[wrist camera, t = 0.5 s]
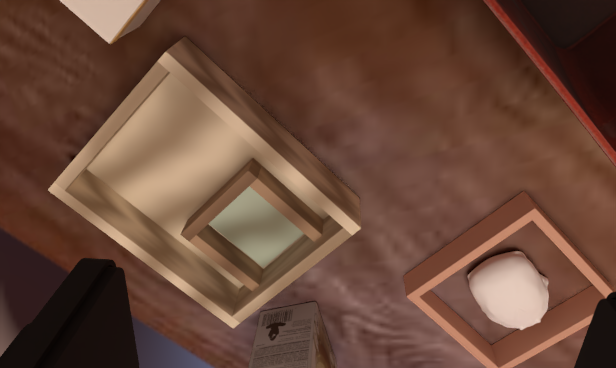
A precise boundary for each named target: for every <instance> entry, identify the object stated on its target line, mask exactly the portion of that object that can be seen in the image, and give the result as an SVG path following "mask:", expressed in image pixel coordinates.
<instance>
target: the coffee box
mask: <svg viewBox="0 0 616 368" xmlns="http://www.w3.org/2000/svg"><path fill="white" fill-rule="evenodd" d="M248 368H337V362H336V359H335V356H334V353H333V350H332V347H331V344H330V341H329V338H328V335H327V332H326V329H325V326H324V323H323V320H322V317H321V314H320V311H319V308H318V305H317V303H316V302H309V303H304V304H299V305H293V306H288V307H283V308H277V309H272V310H267V311H262V312H260V317H259V321H258V326H257V330H256V335H255V339H254V344H253V349H252V353H251V357H250V362H249V367H248Z"/></svg>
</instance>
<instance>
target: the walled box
mask: <svg viewBox="0 0 616 368" xmlns="http://www.w3.org/2000/svg"><path fill="white" fill-rule="evenodd" d="M48 191H50V192H51V193H52V194H54V195H55V196H56V197H58V198H59V199H60V200H62V201H63V202H64V203H66V204H67V205H68V206H70V207H71V208H72V209H74V210H75V211H76V212H78V213H79V214H80V215H82V216H83V217H84V218H86V219H87V220H88V221H90V222H91V223H92V224H94V225H95V226H96V227H98V228H99V229H100V230H102V231H103V232H104V233H106V234H107V235H108V236H110V237H111V238H112V239H114V240H115V241H116V242H118V243H119V244H120V245H122V246H123V247H125V248H126V249H127V250H129V251H130V252H131V253H133V254H134V255H135V256H137V257H138V258H139V259H141V260H142V261H143V262H145V263H146V264H147V265H149V266H150V267H151V268H153V269H154V270H155V271H157V272H158V273H159V274H161V275H162V276H163V277H165V278H166V279H167V280H169V281H170V282H171V283H173V284H174V285H175V286H177V287H178V288H179V289H181V290H182V291H183V292H185V293H186V294H187V295H189V296H190V297H191V298H193V299H194V300H195V301H197V302H198V303H199V304H201V305H202V306H203V307H205V308H206V309H207V310H209V311H210V312H211V313H213V314H214V315H215V316H217V317H218V318H220V319H221V320H222V321H224V322H225V323H226V324H228V325H229V326H230V327H232V328H234V327H236V326H237V325H238V324H240V323H241V322H242V321H243V320H245V319H246V318H247V317H248V316H250V315H251V314H252V313H254V312H255V311H256V310H257V309H259V308H260V307H261V306H263V305H264V304H265V303H266V302H268V301H269V300H270V299H271V298H273V297H274V296H275V295H277V294H278V293H279V292H280V291H282V290H283V289H284V288H286V287H287V286H288V285H289V284H291V283H292V282H293V281H294V280H296V279H297V278H298V277H300V276H301V275H302V274H303V273H305V272H306V271H307V270H308V269H310V268H311V267H312V266H314V265H315V264H316V263H317V262H319V261H320V260H321V259H323V258H324V257H325V256H326V255H328V254H329V253H330V252H331V251H333V250H334V249H335V248H337V247H338V246H339V245H340V244H342V243H343V242H344V241H346V240H347V239H348V238H349V237H351V236H352V235H353V234H354V233H356V232H357V231H358V230H360V229H361V216H360V198H359V197H358V196H357V195H356V194H355V193H354V192H353V191H351V190H350V189H349V188H348V187H347V186H346V185H345V184H344V183H343V182H342V181H341V180H340V179H339V178H338V177H336V176H335V175H334V174H333V173H332V172H331V171H330V170H329V169H328V168H327V167H326V166H325V165H324V164H322V163H321V162H320V161H319V160H318V159H317V158H316V157H315V156H314V155H313V154H312V153H311V152H310V151H308V150H307V149H306V148H305V147H304V146H303V145H302V144H301V143H300V142H299V141H298V140H297V139H296V138H294V137H293V136H292V135H291V134H290V133H289V132H288V131H287V130H286V129H285V128H284V127H283V126H282V125H280V124H279V123H278V122H277V121H276V120H275V119H274V118H273V117H272V116H271V115H270V114H269V113H268V112H266V111H265V110H264V109H263V108H262V107H261V106H260V105H259V104H258V103H257V102H256V101H255V100H254V99H253V98H251V97H250V96H249V95H248V94H247V93H246V92H245V91H244V90H243V89H242V88H241V87H240V86H239V85H237V84H236V83H235V82H234V81H233V80H232V79H231V78H230V77H229V76H228V75H227V74H226V73H225V72H223V71H222V70H221V69H220V68H219V67H218V66H217V65H216V64H215V63H214V62H213V61H212V60H211V59H209V58H208V57H207V56H206V55H205V54H204V53H203V52H202V51H201V50H200V49H199V48H198V47H197V46H195V45H194V44H193V43H192V42H191V41H190V40H189V39H188V38H187V37H186V36H185V37H183V38H182V39H181V40H180V41H178V42H177V43H176V44H174V45H173V46H172V47H171V48H169V49H168V50H167V51H166V52H165V53H164V54H163V55H162V56H161V58H160V59H159V60H158V61H157V62H156V63H155V65H154V66H153V67H152V68H151V69H150V71H149V72H148V73H147V74H146V75H145V76H144V78H143V79H142V80H141V81H140V82H139V83H138V85H137V86H136V87H135V88H134V89H133V90H132V92H131V93H130V94H129V95H128V96H127V98H126V99H125V100H124V101H123V102H122V103H121V105H120V106H119V107H118V108H117V109H116V110H115V112H114V113H113V114H112V115H111V116H110V118H109V119H108V120H107V121H106V122H105V123H104V125H103V126H102V127H101V128H100V129H99V130H98V132H97V133H96V134H95V135H94V136H93V137H92V139H91V140H90V141H89V142H88V143H87V145H86V146H85V147H84V148H83V149H82V150H81V152H80V153H79V154H78V155H77V156H76V157H75V159H74V160H73V161H72V162H71V163H70V164H69V166H68V167H67V168H66V169H65V170H64V172H63V173H62V174H61V175H60V176H59V177H58V179H57V180H56V181H55V182H54V183H53V184H52V186H51V187H50V188H49V189H48Z"/></svg>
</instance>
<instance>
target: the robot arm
mask: <svg viewBox="0 0 616 368" xmlns="http://www.w3.org/2000/svg"><path fill="white" fill-rule="evenodd" d="M0 368H139V362H138V355H137V349H136V343H135V336H134V330H133V324H132V318H131V311H130V305H129V299H128V293H127V286H126V280H125V274H124V270H123V269H122V268H119V267H116V264H115V262H114V261H113V260H108V259H92V258H83V259H81V260H80V261H79V262H78V263H77V265H76V266H75V267H74V269H73V270H72V271H71V272H70V274H69V275H68V276H67V278H66V279H65V280H64V281H63V283H62V284H61V285H60V287H59V288H58V289H57V290H56V292H55V293H54V295H53V296H52V297H51V298H50V300H49V301H48V302H47V303H46V305H45V306H44V307H43V309H42V310H41V311H40V312H39V314H38V315H37V316H36V318H35V319H34V320H33V322H32V323H30V324H27V325H26V326H25V327H24V328H23V330H21V331H20V333H19V334H18V335H17V337H16V338H15V339H14V340H13V342H12V343H11V344H10V345H9V347H8V348H7V349H6V351H5V352H4V353H3V354H2V356H1V357H0ZM574 368H616V292H612V293H610V294H609V295H608V296H607V298H606V299H601V300H600V301H599V302H598V304H597V306H596V309H595V312H594V314H593V317H592V320H591V323H590V325H589V328H588V331H587V334H586V336H585V339H584V342H583V345H582V347H581V350H580V353H579V356H578V359H577V361H576V364H575V367H574Z"/></svg>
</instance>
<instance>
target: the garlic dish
mask: <svg viewBox="0 0 616 368" xmlns="http://www.w3.org/2000/svg"><path fill="white" fill-rule="evenodd" d="M532 220H533V221H534V222H535V223H536V224H537V225H538V227H539V228H540V229H541V230H542V231H543V232H544V233H545V234H546V235H547V236H548V237H549V238H550V239H551V240H552V241H553V242H554V243H555V245H556V246H557V247H558V248H559V249H560V250H561V251H562V252H563V253H564V254H565V255H566V256H567V257H568V258H569V259H570V260H571V261H572V263H573V264H574V265H575V266H576V267H577V268H578V269H579V270H580V271H581V272H582V273H583V274H584V275H585V276H586V277H587V278H588V279H589V281H590V282H591V283H592V284H593V285H592V286H590V287H588V288H587V289H585V290H583V291H582V292H580V293H578V294H577V295H575V296H573V297H572V298H570V299H568V300H567V301H565V302H563V303H561V304H560V305H558V306H556V307H555V308H553V309H551V310H550V311H548V312H546V313H545V314H544V315H543V317H542V318H541V322H539V323H536V324H534V325H533V326H532V325H531V326H530V327H527V328H524V329H523V330H520V329H518V330H516V331H514V332H513V333H511V334H509V335H508V336H506V337H504V338H503V339H501V340H499V341H498V342H496V343H494V344H493V345H490V344H489V343H488V342H487V341H486V340H485V339H484V338H483V337H481V336H480V335H479V334H478V333H477V332H476V331H475V330H474V329H473V328H472V327H470V326H469V325H468V324H467V323H466V322H465V321H464V320H463V319H462V318H460V317H459V316H458V315H457V314H456V313H455V312H454V311H453V310H452V309H451V308H449V307H448V306H447V305H446V304H445V303H444V302H443V301H442V300H441V299H440V298H438V297H437V296H436V295H435V294H434V293H433V292H432V291H431V290H430V289H431V288H433V287H434V286H436V285H437V284H439V283H440V282H442V281H443V280H445V279H446V278H448V277H449V276H451V275H452V274H454V273H455V272H456V271H458V270H459V269H461V268H462V267H464V266H465V265H467V264H468V263H470V262H471V261H473V260H474V259H476V258H477V257H479V256H480V255H481V254H483V253H484V252H486V251H487V250H489V249H490V248H492V247H493V246H495V245H496V244H498V243H499V242H501V241H502V240H504V239H505V238H507V237H508V236H509V235H511V234H512V233H514V232H515V231H517V230H518V229H520V228H521V227H523V226H524V225H526V224H527V223H529V222H530V221H532ZM403 277H404V283H405V290H406V296H407V297H408V298H409V299H410V300H411V301H412V302H413V303H415V304H416V305H417V306H418V307H419V308H420V309H421V310H423V311H424V312H425V313H426V314H427V315H428V316H429V317H430V318H432V319H433V320H434V321H435V322H436V323H437V324H438V325H439V326H441V327H442V328H443V329H444V330H445V331H446V332H447V333H449V334H450V335H451V336H452V337H453V338H454V339H455V340H456V341H458V342H459V343H460V344H461V345H462V346H463V347H464V348H466V349H467V350H468V351H469V352H470V353H471V354H472V355H473V356H475V357H476V358H477V359H478V360H479V361H480V362H481V363H483V364H484V365H485V366H486V367H487V368H512V367H514V366H516V365H518V364H519V363H521V362H523V361H525V360H527V359H528V358H530V357H532V356H534V355H535V354H537V353H539V352H541V351H542V350H544V349H546V348H548V347H549V346H551V345H553V344H555V343H557V342H558V341H560V340H562V339H564V338H565V337H567V336H569V335H571V334H572V333H574V332H576V331H578V330H580V329H581V328H583V327H585V326H587V325H588V324H590V323H591V320H592V317H593V314H594V312H595V309H596V306H597V304H598V302H599V301H600V300H601V299H606V298H607V296H608V295H609V294H610V293H612V292H615V290H614V289H613V287H612V286H611V284H610V283H609V282H608V281H607V280H606V279H605V278H604V277H603V275H602V274H601V273H600V272H599V271H598V270H597V269H596V268H595V267H594V266H593V265H592V264H591V263H590V261H589V260H588V259H587V258H586V257H585V256H584V255H583V254H582V253H581V252H580V251H579V250H578V248H577V247H576V246H575V245H574V244H573V243H572V242H571V241H570V240H569V239H568V238H567V237H566V236H565V234H564V233H563V232H562V231H561V230H560V229H559V228H558V227H557V226H556V225H555V224H554V223H553V222H552V220H551V219H550V218H549V217H548V216H547V215H546V214H545V213H544V212H543V211H542V210H541V209H540V208H539V206H538V205H537V204H536V203H535V202H534V201H533V200H532V199H531V198H530V197H529V196H528V195H527V193H526V192H525V191H523V192H521V193H520V194H518V195H517V196H516V197H514V198H513V199H511V200H510V201H509V202H507V203H506V204H504V205H503V206H501V207H500V208H499V209H497V210H496V211H494V212H493V213H492V214H490V215H489V216H487V217H486V218H485V219H483V220H482V221H480V222H479V223H477V224H476V225H475V226H473V227H472V228H470V229H469V230H468V231H466V232H465V233H463V234H462V235H461V236H459V237H458V238H456V239H455V240H453V241H452V242H451V243H449V244H448V245H446V246H445V247H444V248H442V249H441V250H439V251H438V252H437V253H435V254H434V255H432V256H431V257H429V258H428V259H427V260H425V261H424V262H422V263H421V264H420V265H418V266H417V267H415V268H414V269H413V270H411V271H410V272H408V273H407V274H405V275H404V276H403Z"/></svg>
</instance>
